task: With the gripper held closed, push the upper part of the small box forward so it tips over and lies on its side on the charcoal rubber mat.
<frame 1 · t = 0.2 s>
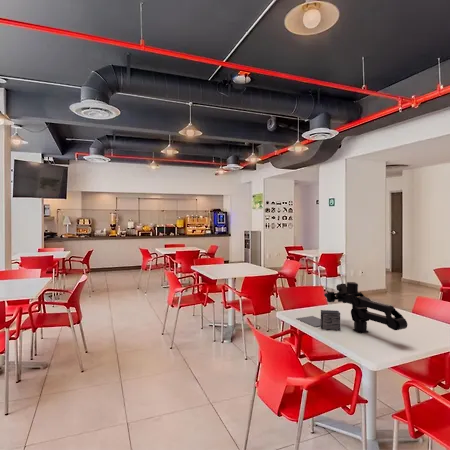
hand: (329, 294, 216), 17 cm above the table, tool horizontal, fingers open, 9 cm apart
mat: (313, 321, 210), on the table
small box: (330, 328, 197), on the table
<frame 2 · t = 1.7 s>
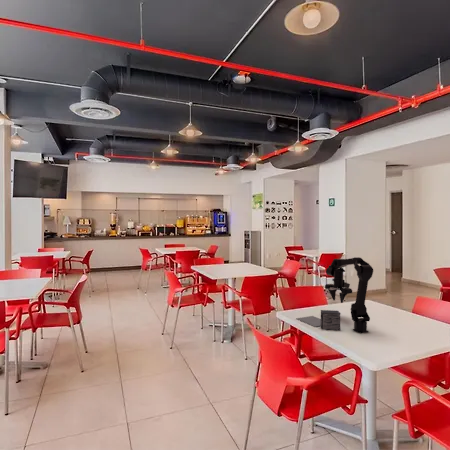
hand: (337, 301, 215), 12 cm above the table, tool pointing down, fingers open, 6 cm apart
nothing on the table moved.
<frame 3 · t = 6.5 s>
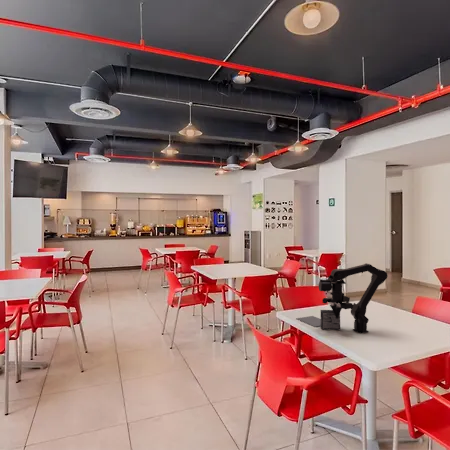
hand: (337, 317, 193), 8 cm above the table, tool pointing down, fingers closed
small box: (330, 328, 197), on the table, touching gripper
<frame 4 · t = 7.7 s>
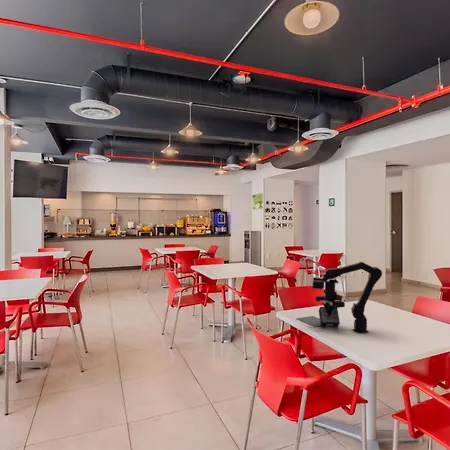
hand: (329, 315, 198), 8 cm above the table, tool pointing down, fingers closed
small box: (330, 325, 198), point 2 cm above the table, touching gripper
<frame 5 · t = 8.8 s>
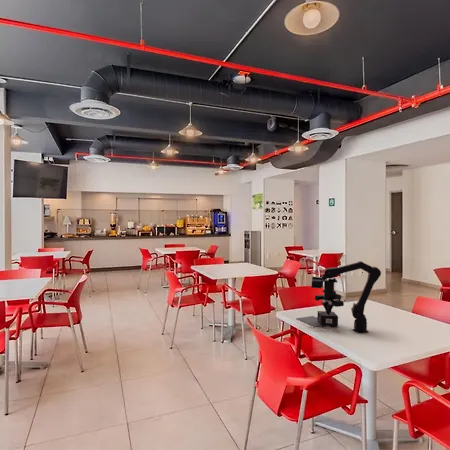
hand: (328, 314, 199), 8 cm above the table, tool pointing down, fingers closed
small box: (329, 321, 200), point 4 cm above the table, touching mat
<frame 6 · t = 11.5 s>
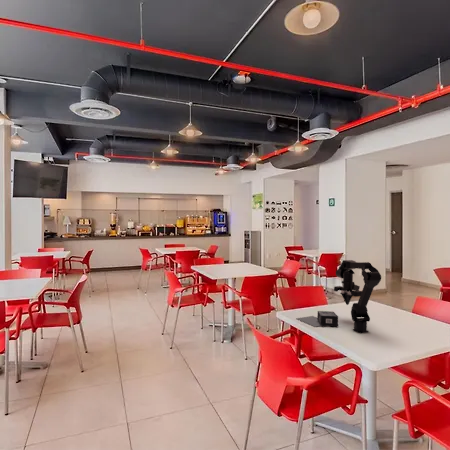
hand: (347, 304, 207), 12 cm above the table, tool pointing down, fingers closed
nothing on the table moved.
at the end: small box tilted 88°; small box touching mat; small box inside the target area (3.2 cm from its centre), point 3.5 cm above the table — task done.
